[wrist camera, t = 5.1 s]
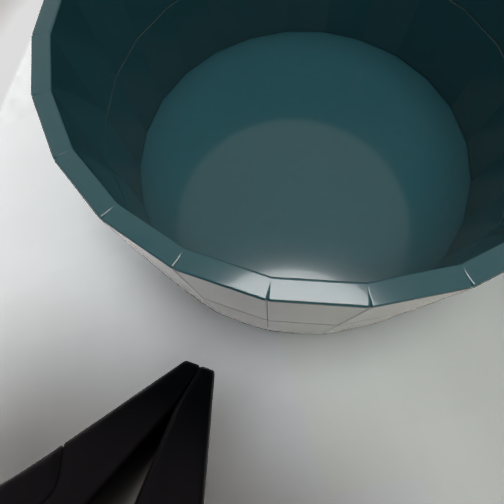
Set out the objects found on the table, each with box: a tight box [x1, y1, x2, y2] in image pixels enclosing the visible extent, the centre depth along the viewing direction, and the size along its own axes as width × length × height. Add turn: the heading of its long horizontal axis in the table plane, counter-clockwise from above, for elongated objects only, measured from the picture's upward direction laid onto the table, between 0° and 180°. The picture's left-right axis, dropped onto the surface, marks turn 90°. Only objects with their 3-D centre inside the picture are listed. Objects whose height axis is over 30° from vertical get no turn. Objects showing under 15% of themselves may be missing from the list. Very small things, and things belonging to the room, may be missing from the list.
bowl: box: [31, 0, 504, 334], centre depth 15 cm, size 18×18×8 cm
